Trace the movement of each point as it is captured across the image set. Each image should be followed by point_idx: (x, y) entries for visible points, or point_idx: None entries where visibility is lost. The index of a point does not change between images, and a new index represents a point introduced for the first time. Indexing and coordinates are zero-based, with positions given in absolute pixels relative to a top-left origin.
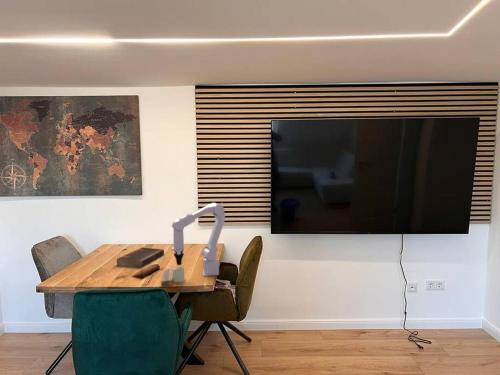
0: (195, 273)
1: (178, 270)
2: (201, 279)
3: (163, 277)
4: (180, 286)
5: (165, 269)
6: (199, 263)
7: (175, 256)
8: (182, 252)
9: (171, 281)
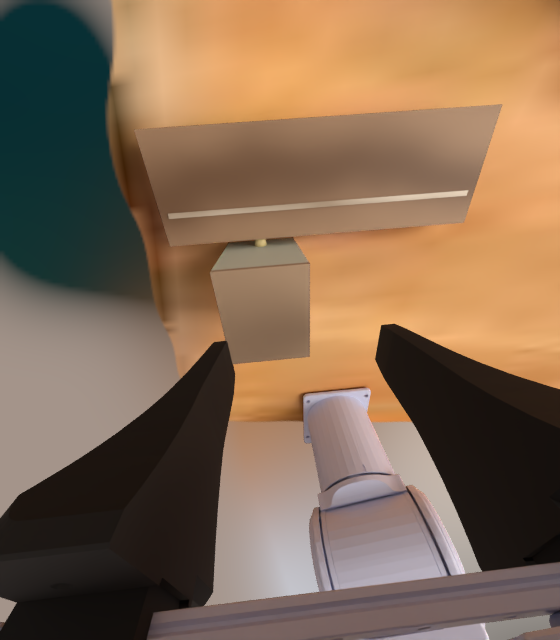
0: (358, 357)
1: (222, 319)
2: (262, 387)
3: (246, 141)
4: (157, 297)
5: (483, 132)
6: (511, 364)
7: (67, 482)
8: (446, 484)
9: (171, 237)
